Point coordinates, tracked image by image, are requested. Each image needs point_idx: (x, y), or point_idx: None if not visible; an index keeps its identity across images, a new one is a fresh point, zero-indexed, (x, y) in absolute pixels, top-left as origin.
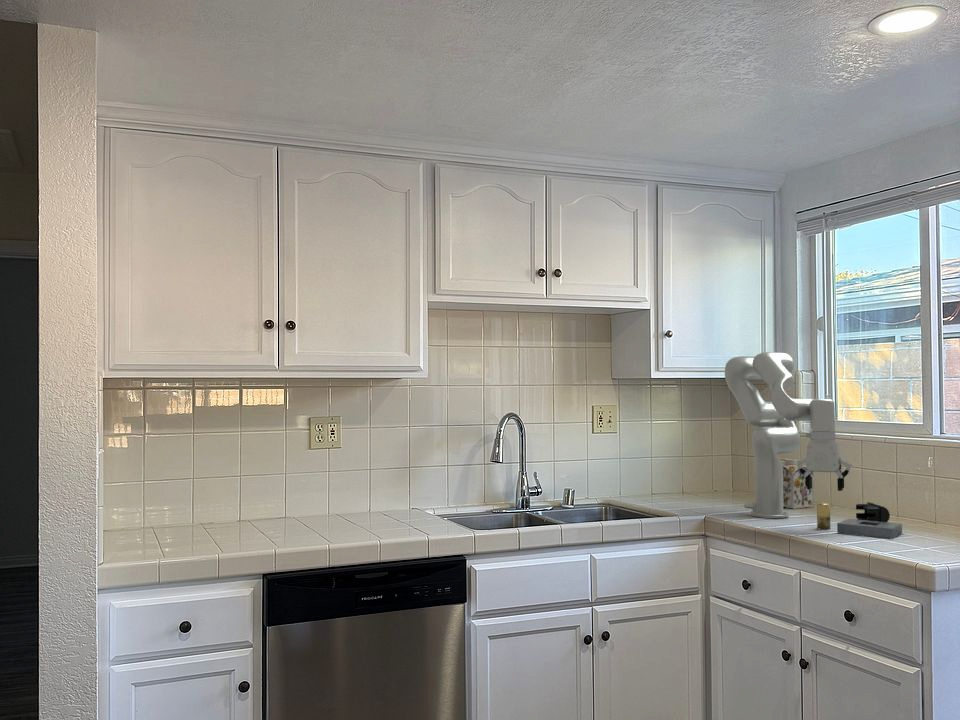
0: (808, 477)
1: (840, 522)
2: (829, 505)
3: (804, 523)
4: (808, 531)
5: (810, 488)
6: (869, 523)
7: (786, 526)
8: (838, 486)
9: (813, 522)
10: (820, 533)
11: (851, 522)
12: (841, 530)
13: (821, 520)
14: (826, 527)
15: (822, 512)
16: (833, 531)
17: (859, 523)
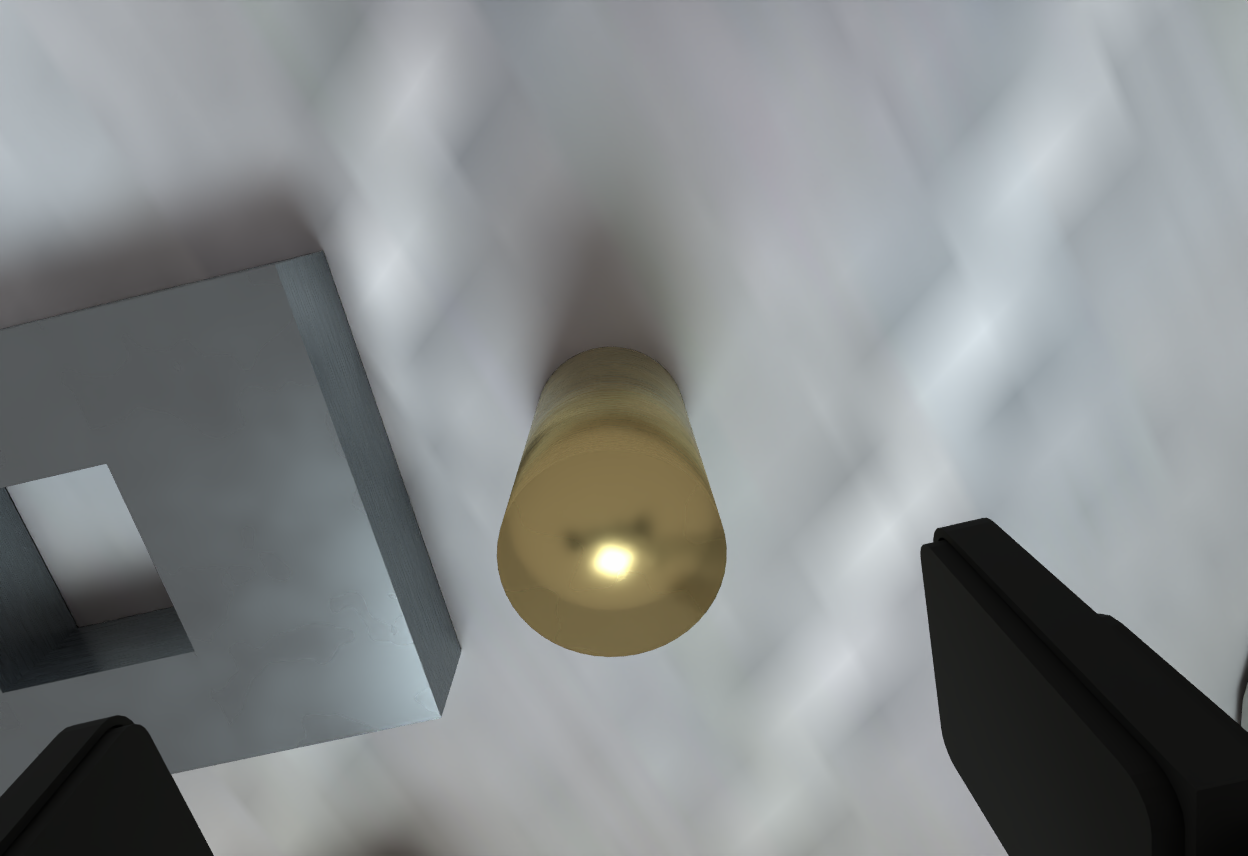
0: (1181, 812)
1: (301, 372)
2: (499, 555)
3: None
4: (607, 53)
5: (932, 629)
6: (134, 658)
7: (996, 183)
8: (26, 795)
9: (893, 677)
10: (422, 37)
11: (225, 486)
12: (261, 266)
13: (594, 375)
14: (547, 383)
15: (576, 414)
16: (420, 318)
17: (128, 504)
